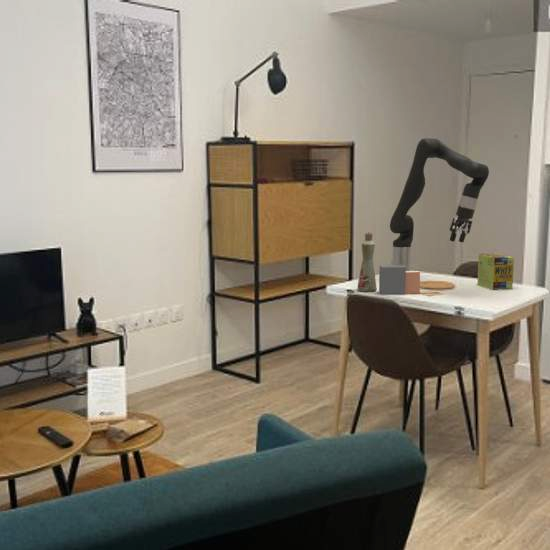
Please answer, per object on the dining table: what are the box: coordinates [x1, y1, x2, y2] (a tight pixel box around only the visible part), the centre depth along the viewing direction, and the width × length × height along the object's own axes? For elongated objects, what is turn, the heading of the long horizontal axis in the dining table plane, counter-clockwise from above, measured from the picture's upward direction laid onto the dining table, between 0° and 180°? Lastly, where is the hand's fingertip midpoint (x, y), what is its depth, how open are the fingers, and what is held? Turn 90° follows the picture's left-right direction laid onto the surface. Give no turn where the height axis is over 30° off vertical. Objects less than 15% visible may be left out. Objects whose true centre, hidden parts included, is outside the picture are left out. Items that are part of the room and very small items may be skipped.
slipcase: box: [378, 264, 406, 296], centre depth 310 cm, size 11×6×13 cm, turn 89°
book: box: [405, 270, 421, 295], centre depth 310 cm, size 14×4×10 cm, turn 89°
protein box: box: [477, 253, 515, 291], centre depth 326 cm, size 10×15×16 cm
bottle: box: [357, 231, 378, 293], centre depth 316 cm, size 9×9×28 cm
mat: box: [419, 290, 446, 297], centre depth 311 cm, size 10×10×1 cm
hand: (456, 241), depth 308 cm, fingers open, 8 cm apart
